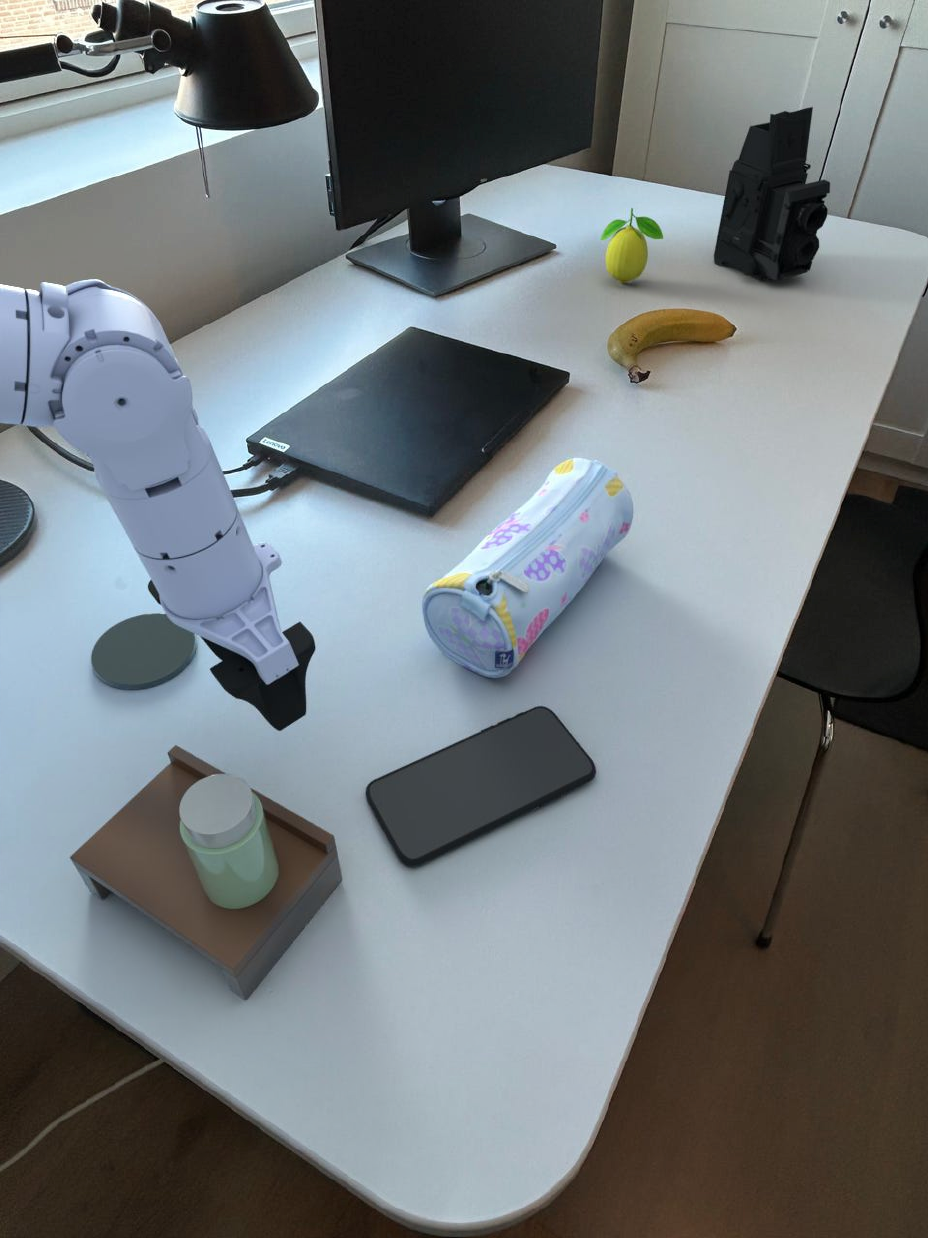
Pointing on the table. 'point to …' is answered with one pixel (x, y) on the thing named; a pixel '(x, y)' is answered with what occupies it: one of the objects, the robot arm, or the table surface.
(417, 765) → the smartphone
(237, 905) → the shaker
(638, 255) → the lemon
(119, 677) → the coaster
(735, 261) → the camera
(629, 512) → the pencil case
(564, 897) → the table surface
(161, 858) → the shelf
